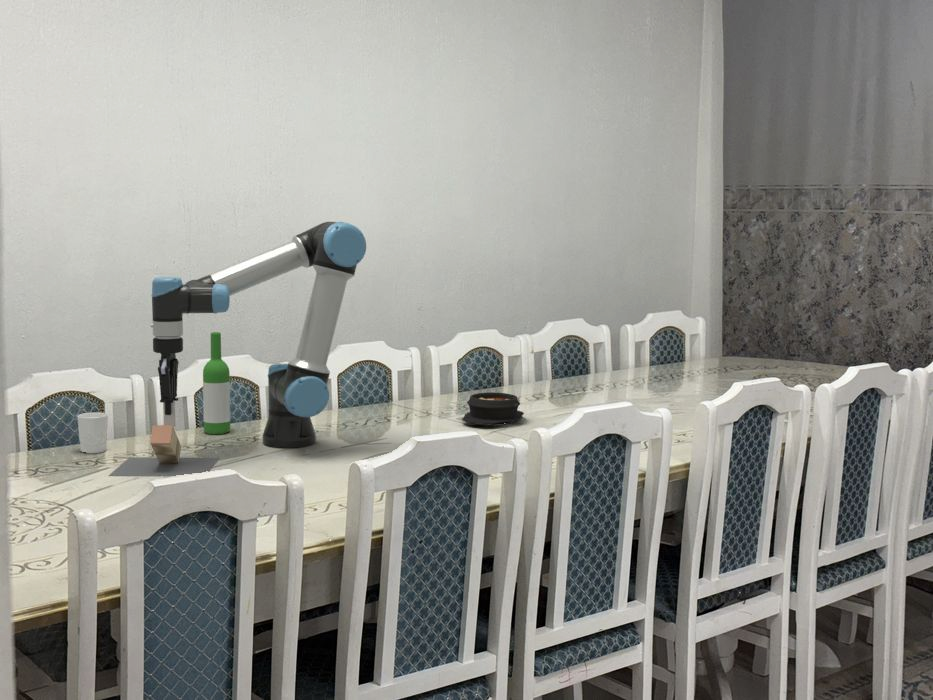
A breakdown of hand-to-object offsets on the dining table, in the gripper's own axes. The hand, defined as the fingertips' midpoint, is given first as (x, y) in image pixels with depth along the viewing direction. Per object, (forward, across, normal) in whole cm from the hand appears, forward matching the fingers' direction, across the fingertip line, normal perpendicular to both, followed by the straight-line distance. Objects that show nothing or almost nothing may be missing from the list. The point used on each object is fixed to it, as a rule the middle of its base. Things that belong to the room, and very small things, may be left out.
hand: (169, 426), depth 283 cm
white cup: (+10, -14, -24) cm, 30 cm away
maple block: (+8, 0, 0) cm, 8 cm away
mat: (+10, +5, 0) cm, 11 cm away
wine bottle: (+10, -39, +5) cm, 41 cm away
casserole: (+10, -58, +89) cm, 107 cm away
